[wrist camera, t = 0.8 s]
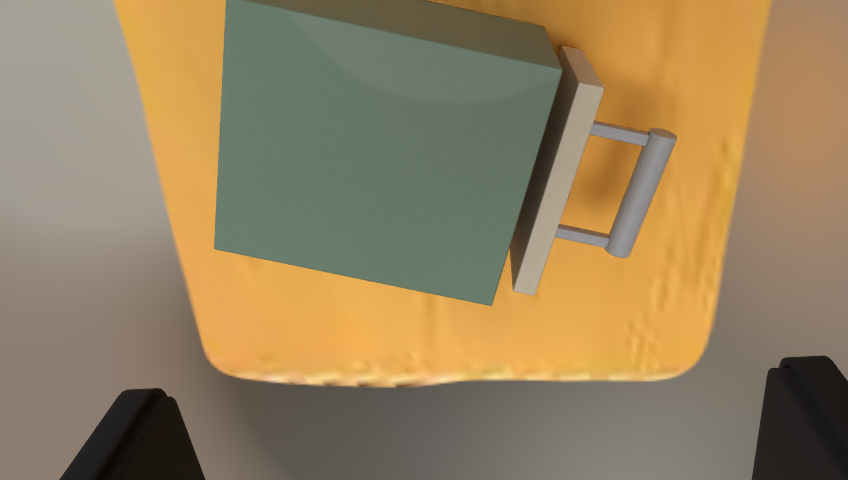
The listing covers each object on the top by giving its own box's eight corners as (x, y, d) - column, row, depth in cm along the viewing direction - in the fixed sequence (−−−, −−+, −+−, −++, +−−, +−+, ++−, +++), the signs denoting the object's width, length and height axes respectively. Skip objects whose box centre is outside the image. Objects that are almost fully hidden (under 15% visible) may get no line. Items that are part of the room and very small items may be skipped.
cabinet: (544, 26, 36) (563, 69, 29) (489, 225, 43) (491, 306, 35) (281, -32, 36) (225, -5, 28) (263, 178, 42) (213, 249, 34)
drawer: (670, 68, 36) (711, 111, 30) (602, 247, 42) (624, 314, 35) (336, -4, 36) (306, 22, 29) (312, 186, 41) (282, 244, 35)
